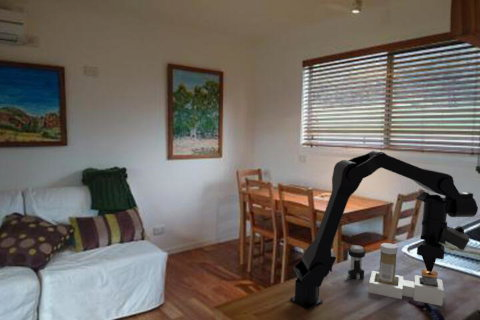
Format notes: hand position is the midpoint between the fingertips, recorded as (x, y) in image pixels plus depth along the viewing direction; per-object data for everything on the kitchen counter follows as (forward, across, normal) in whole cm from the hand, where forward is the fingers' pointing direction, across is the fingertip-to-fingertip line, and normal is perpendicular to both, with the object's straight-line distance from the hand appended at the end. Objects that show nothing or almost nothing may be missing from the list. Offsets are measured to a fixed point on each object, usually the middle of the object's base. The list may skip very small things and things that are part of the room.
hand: (429, 271), depth 104 cm
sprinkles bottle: (+8, -1, +11) cm, 13 cm away
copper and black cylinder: (+6, 0, 0) cm, 6 cm away
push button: (+8, +1, +21) cm, 22 cm away
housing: (+8, 0, +6) cm, 10 cm away
